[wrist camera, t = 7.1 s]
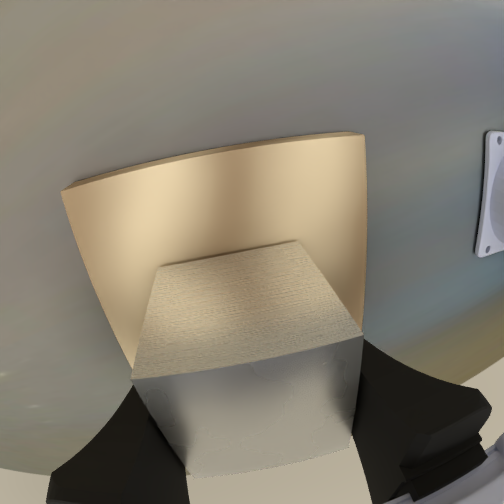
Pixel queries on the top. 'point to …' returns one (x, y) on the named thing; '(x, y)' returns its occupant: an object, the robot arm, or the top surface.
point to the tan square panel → (222, 217)
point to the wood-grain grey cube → (248, 361)
